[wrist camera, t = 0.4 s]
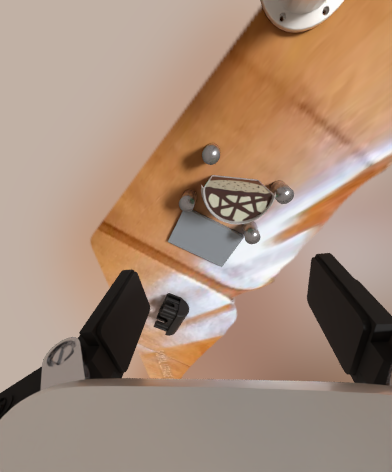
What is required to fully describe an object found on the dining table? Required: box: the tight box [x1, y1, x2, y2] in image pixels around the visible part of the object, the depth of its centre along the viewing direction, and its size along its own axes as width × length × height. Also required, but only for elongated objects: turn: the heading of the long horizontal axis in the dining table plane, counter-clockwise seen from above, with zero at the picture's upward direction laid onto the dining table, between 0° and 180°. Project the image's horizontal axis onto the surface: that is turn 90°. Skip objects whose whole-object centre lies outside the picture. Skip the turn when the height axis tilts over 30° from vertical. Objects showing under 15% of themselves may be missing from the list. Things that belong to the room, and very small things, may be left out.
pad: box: [168, 210, 244, 267], centre depth 46 cm, size 10×15×1 cm, turn 64°
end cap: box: [154, 293, 189, 335], centre depth 57 cm, size 10×7×7 cm
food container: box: [201, 175, 276, 224], centre depth 36 cm, size 12×6×10 cm, turn 86°
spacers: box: [179, 143, 294, 244], centre depth 39 cm, size 13×18×5 cm
